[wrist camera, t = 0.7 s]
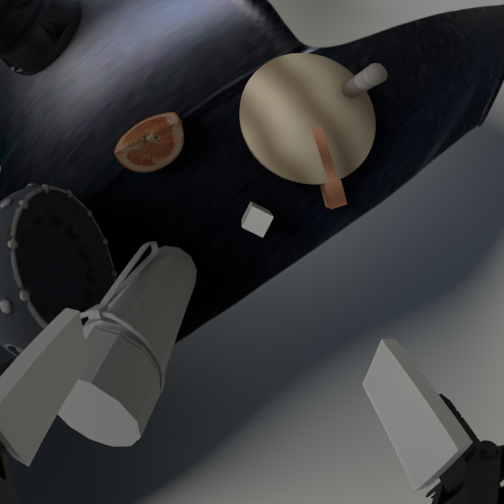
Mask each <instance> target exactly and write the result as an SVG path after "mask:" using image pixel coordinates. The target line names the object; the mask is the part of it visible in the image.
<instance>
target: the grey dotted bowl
mask: <svg viewBox="0 0 504 504" xmlns="http://www.w3.org/2000/svg"><path fill="white" fill-rule="evenodd" d="M107 244H108V241H107V239H106V238H104V236H103V234H102V232H101V230H100V228H99V226H98V225H97V223H96V221H95V220H94V218H93V217H92V212H91V211H90V210H88V209H87V208H86V207H85V206H84V205H83V204H82V203H81V202H80V201H79V200H78V199H77V198H76V197H74V196H73V195H72V192H71V191H70V190H63V189H60V188H58V187H54V186H48V185H45V184H44V185H42V186H38V185H36V184H28V185H27V186H26V187H25V188H24V189H22V190H20V191H17V192H15V193H13V194H11V195H10V196H8V197H7V198H5V199H3V200H2V201H1V202H0V345H1V346H2V347H4V348H5V349H6V350H8V351H9V352H10V353H12V354H14V355H15V356H17V357H18V356H19V355H20V354H21V353H22V352H23V351H24V350H25V349H26V348H27V346H28V345H29V344H30V343H31V342H32V341H33V340H34V339H35V338H36V337H37V336H38V335H39V334H40V333H41V332H42V331H43V330H44V329H45V328H46V327H47V326H48V325H49V324H50V323H51V322H52V321H53V320H54V319H55V318H56V317H57V316H58V315H59V314H60V313H61V312H62V311H63V310H64V309H65V308H69V309H73V310H77V311H80V313H82V312H86V311H87V310H88V309H90V308H92V307H94V306H95V305H97V304H100V303H101V301H102V300H103V298H104V297H105V295H106V294H107V292H108V291H109V290H110V288H111V287H112V285H113V284H114V283H115V281H116V276H117V272H116V271H115V270H114V266H113V262H112V259H111V255H110V252H109V249H108V246H107ZM88 320H89V318H88V317H85V318H82V319H81V322H82V327H83V325H84V324H85V323H86V322H87V321H88Z"/></svg>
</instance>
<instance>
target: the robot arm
mask: <svg viewBox="0 0 504 504" xmlns="http://www.w3.org/2000/svg"><path fill="white" fill-rule="evenodd" d="M80 19H81V8H80V5H79V4H78V3H77V2H76V1H75V0H0V58H1V59H2V60H3V62H4V63H5V64H6V65H7V66H8V67H9V68H10V69H11V70H12V71H13V72H15V73H18V74H21V75H32V74H35V73H37V72H39V71H41V70H42V69H44V68H45V67H47V66H48V65H49V64H50V63H52V62H53V61H54V60H55V59H56V58H57V57H58V56H59V55H60V53H61V52H62V51H63V50H64V49H65V47H66V46H67V45H68V43H69V42H70V40H71V39H72V37H73V36H74V34H75V32H76V30H77V28H78V25H79V22H80ZM89 362H90V359H89V355H88V351H87V346H86V342H85V337H84V332H83V327H82V322H81V316H80V311H77V310H73V309H69V308H65V309H64V310H63V311H62V312H61V313H60V314H59V315H58V316H57V317H56V318H55V319H54V320H53V321H52V322H51V323H50V324H49V325H48V326H47V327H46V328H45V329H44V330H43V331H42V332H41V333H40V334H39V335H38V336H37V337H36V338H35V339H34V340H33V341H32V342H31V343H30V344H29V345H28V346H27V348H26V349H25V350H24V351H23V352H22V353H21V354H20V355H19V356H18V357H17V358H16V359H15V360H14V359H10V360H8V361H7V362H5V363H3V364H2V365H1V366H0V504H19V501H18V498H17V495H16V492H15V489H14V485H13V482H12V478H11V474H10V470H9V466H8V462H7V458H6V456H5V454H4V451H5V450H6V449H7V450H8V451H9V452H10V454H11V455H12V456H13V457H14V458H15V459H17V460H19V461H20V462H22V463H24V464H25V465H27V466H30V464H31V461H32V459H33V457H34V456H35V454H36V452H37V450H38V448H39V446H40V444H41V442H42V440H43V438H44V436H45V435H46V433H47V431H48V429H49V427H50V425H51V424H52V422H53V420H54V419H55V417H56V415H57V413H58V412H59V410H60V408H61V406H62V405H63V403H64V401H65V400H66V398H67V396H68V395H69V393H70V392H71V390H72V388H73V387H74V385H75V383H76V382H77V380H78V379H79V377H80V375H81V374H82V372H83V371H84V369H85V368H86V366H87V365H88V363H89ZM362 385H363V387H364V389H365V391H366V393H367V395H368V397H369V399H370V401H371V402H372V405H373V406H374V408H375V410H376V412H377V414H378V416H379V418H380V420H381V422H382V424H383V426H384V428H385V430H386V432H387V434H388V436H389V438H390V441H391V442H392V445H393V447H394V449H395V451H396V453H397V455H398V457H399V459H400V461H401V463H402V466H403V468H404V470H405V472H406V474H407V476H408V478H409V481H410V483H411V485H412V487H413V489H414V491H418V490H420V489H423V488H425V487H427V486H429V485H431V484H432V483H433V482H434V481H435V480H436V479H438V478H440V480H441V482H440V483H439V484H438V485H436V486H435V487H434V488H433V489H432V490H430V491H429V492H428V493H427V495H426V497H429V496H430V495H431V494H432V493H434V491H435V494H434V495H433V496H432V497H431V498H433V501H432V504H504V486H503V487H501V485H500V482H502V481H503V480H504V445H502V446H497V445H496V444H494V443H493V442H491V441H486V440H484V441H482V442H480V441H479V439H477V437H476V435H475V434H474V432H473V431H472V430H471V429H470V427H469V425H468V424H467V423H466V421H465V420H464V419H463V417H461V414H460V413H459V412H458V411H456V408H455V407H454V405H453V404H452V402H451V401H450V400H449V399H447V398H446V397H445V396H443V395H442V394H438V393H437V392H436V390H435V389H434V388H433V386H432V385H431V384H430V382H429V381H428V380H427V379H426V377H425V376H424V375H423V373H422V372H421V371H420V370H419V368H418V367H417V366H416V364H415V363H414V362H413V361H412V359H411V358H410V357H409V356H408V355H407V353H406V352H405V351H404V349H403V348H402V347H401V346H400V345H399V343H398V342H397V341H396V340H395V339H382V340H381V342H380V345H379V347H378V349H377V352H376V354H375V357H374V359H373V361H372V364H371V366H370V368H369V371H368V373H367V375H366V377H365V379H364V382H363V384H362Z"/></svg>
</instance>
